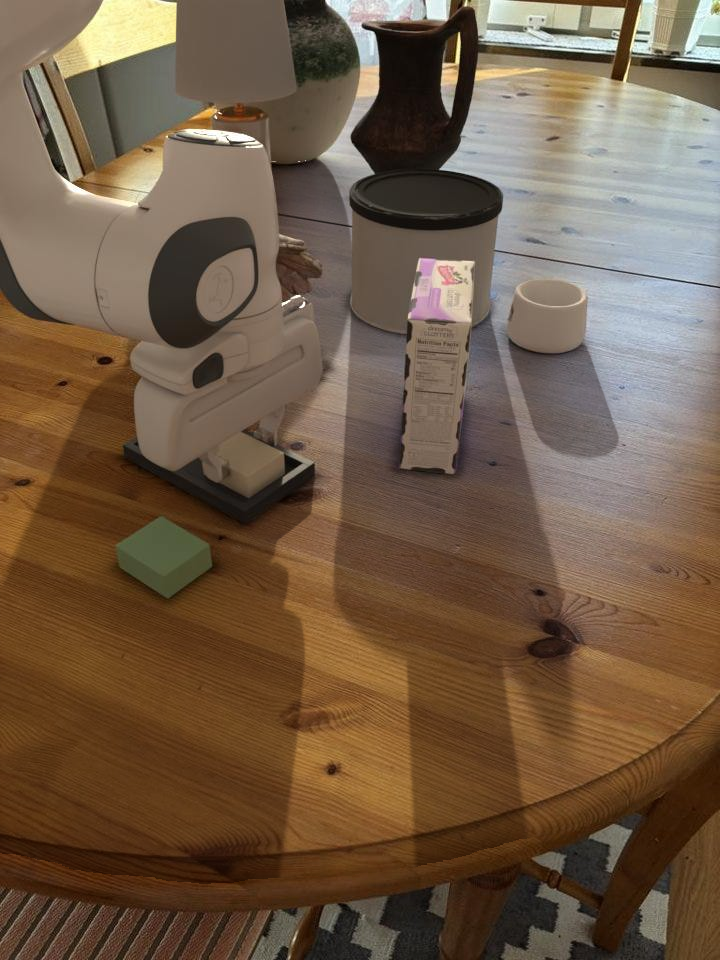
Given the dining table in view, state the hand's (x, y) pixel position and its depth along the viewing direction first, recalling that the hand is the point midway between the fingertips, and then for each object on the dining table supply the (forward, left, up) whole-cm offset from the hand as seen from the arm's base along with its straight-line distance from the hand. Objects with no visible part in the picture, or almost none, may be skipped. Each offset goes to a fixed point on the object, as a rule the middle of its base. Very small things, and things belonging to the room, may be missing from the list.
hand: (242, 461), depth 81 cm
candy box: (+18, -10, -2) cm, 20 cm away
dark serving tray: (0, +3, -2) cm, 4 cm away
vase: (+81, +67, -2) cm, 105 cm away
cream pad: (0, 0, -2) cm, 2 cm away
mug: (+46, -8, -2) cm, 47 cm away
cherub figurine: (+17, +17, -2) cm, 24 cm away
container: (+43, +9, -2) cm, 44 cm away
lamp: (+57, +55, -2) cm, 79 cm away
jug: (+77, +35, -2) cm, 85 cm away
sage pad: (-13, -4, -2) cm, 14 cm away
